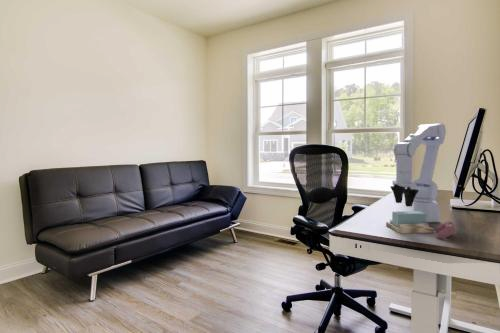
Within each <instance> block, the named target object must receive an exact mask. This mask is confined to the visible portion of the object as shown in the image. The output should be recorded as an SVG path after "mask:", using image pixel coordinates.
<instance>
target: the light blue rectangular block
mask: <svg viewBox="0 0 500 333" xmlns="http://www.w3.org/2000/svg"><path fill="white" fill-rule="evenodd" d="M391 213H392V218H391V219H392V224H394V225H396V226H398V227H399V224H422V223H427V222H426V213H423V212H420V211H412V210H411V211H410V210H407V211H405V210H404V211H392V212H391Z"/></svg>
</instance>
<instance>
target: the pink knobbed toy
mask: <svg viewBox="0 0 500 333" xmlns="http://www.w3.org/2000/svg"><path fill="white" fill-rule="evenodd" d="M456 228H457V227H456V223H455V221H452V220H447V221H445V222H444V223H442V224H441V225H438V226H437V227H436V229H435V232H436V235H435V236H436V238H437V239H441V240H442V239H446V238H447V239H448V238H449V237H450V236H452V235H453V234H456V232H457V231H456Z"/></svg>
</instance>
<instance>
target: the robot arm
mask: <svg viewBox="0 0 500 333" xmlns="http://www.w3.org/2000/svg"><path fill="white" fill-rule="evenodd" d="M446 135H447V130H446V126H445V124H444V123H443V122H440V123H429V124H419V125H418V126H417V131H416V132H415V133H409V135H408V136H407V137H406V138H405V139H404V140H402V141H401V142H397V143H396V144H395V145H394V146H393V154H394V159H395V161H396V166H395V167H396V169H395V170H396V171H395V172H396V173H395V174H396V175H395V178H396V179H395V180H392V185H391V186H390V189H391V191H392V193H393V196H394V200H395V201H394V202H395V203H396V204H402V203H403V196H404V203H405V207H412V206H413V209H412V210H413V211H420V212H423V213H426V222H425V223H441V220H440V205H439V203H438V202H437V201H436V199H437V197H438V188H439V187H438V184H437V183H436V182H435V181H433V176H434V172H435V167H436V163H437V158H438V153H439V149H440V146H441V145H442V144H444V141H445V138H446ZM421 144H422V145H425V146H426V147H425V150H424V151H425V152H424V155H423V156H424V157H423V161H422V164H421V168H420V173H419V178H417V179H414V180H413V157H414V156H415V154H416V151H417V148H419V146H421Z"/></svg>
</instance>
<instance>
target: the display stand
mask: <svg viewBox="0 0 500 333" xmlns="http://www.w3.org/2000/svg"><path fill="white" fill-rule="evenodd" d="M385 223H386V224H385V226H386V227H388V229H391V230H393V231H395V232H397V233H399V234H424V233H425V234H427V233H429V234H430V233H434V228H433V227H430V226H429V225H430V224H429V222H425V223H422V224H399V227H398V226H396V225H394V224H392V218H390V219H389V221H386V222H385Z"/></svg>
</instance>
